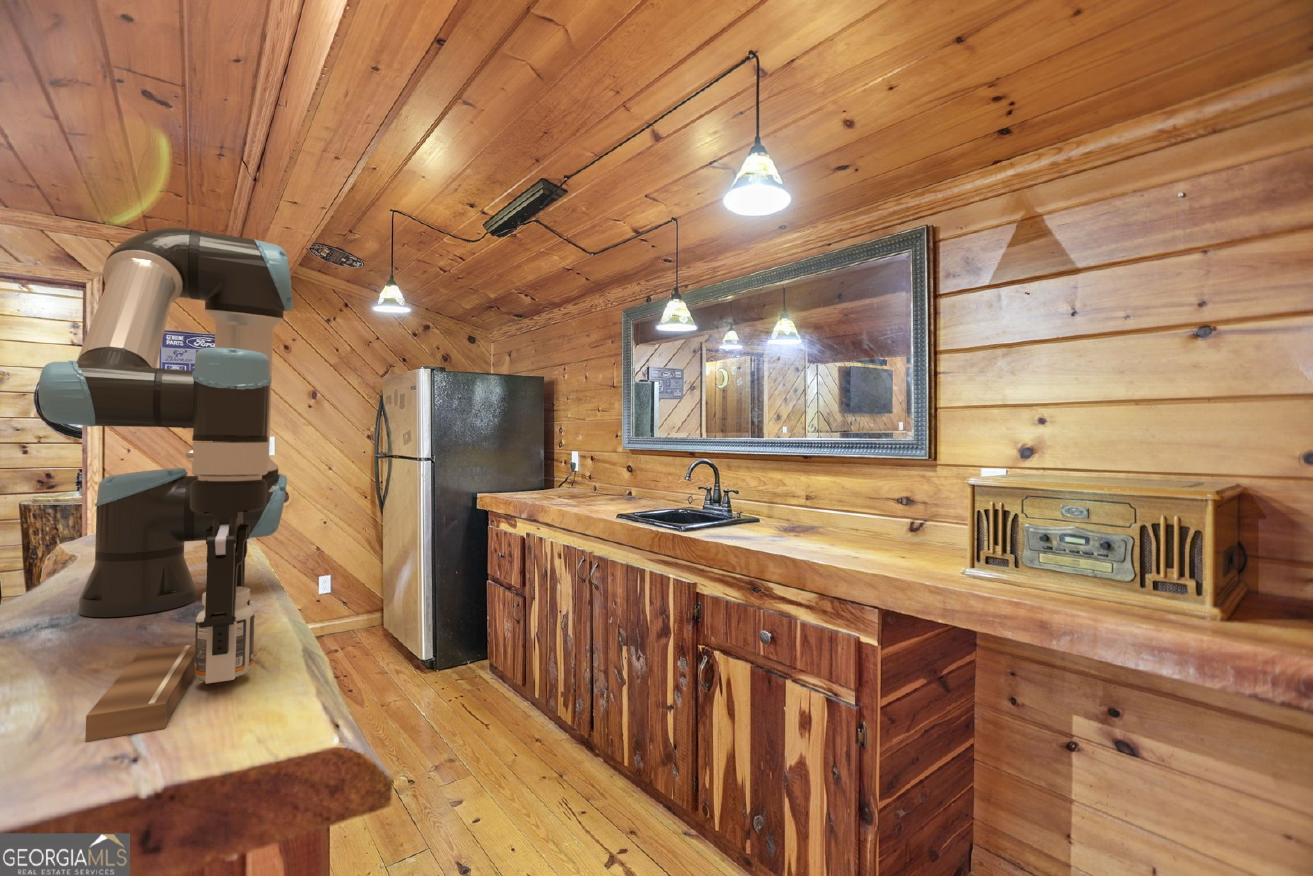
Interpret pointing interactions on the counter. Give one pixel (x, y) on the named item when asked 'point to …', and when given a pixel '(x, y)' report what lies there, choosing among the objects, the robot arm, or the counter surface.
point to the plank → (143, 693)
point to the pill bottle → (243, 636)
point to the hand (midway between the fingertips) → (224, 670)
